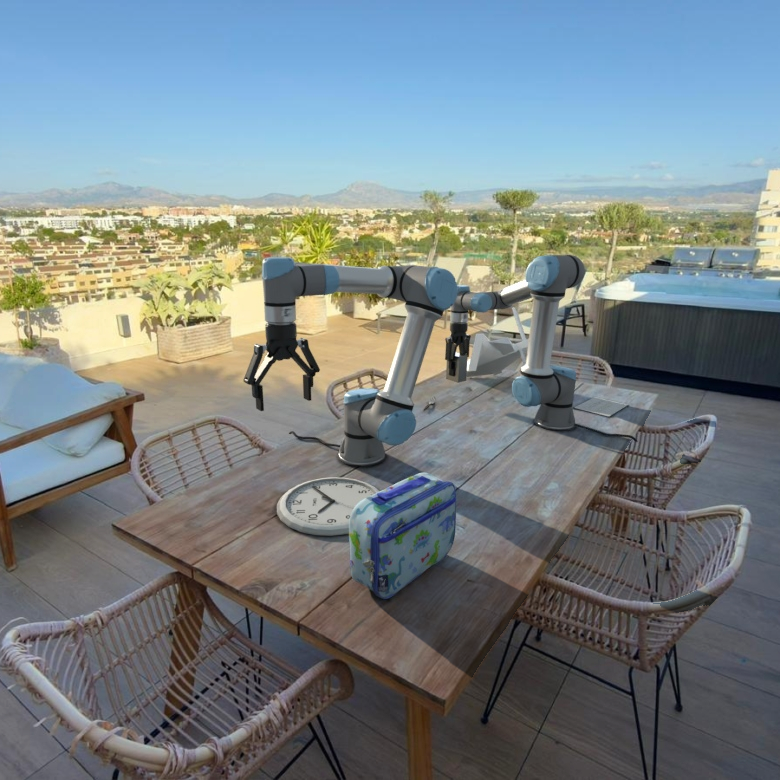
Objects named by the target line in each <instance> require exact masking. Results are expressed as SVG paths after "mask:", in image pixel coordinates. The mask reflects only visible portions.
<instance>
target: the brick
mask: <svg viewBox="0 0 780 780" xmlns="http://www.w3.org/2000/svg"><path fill="white" fill-rule="evenodd" d="M451 359H452V358H451ZM467 360H469V357H468V355H464V354H460V352H456V354H455V358H454V362H455V376H450V375H449V361H447V360H446V367H445V369H446V370H445V380H448V381H451V382H454V383H463V382H466V381H467V377H466V376H467Z"/></svg>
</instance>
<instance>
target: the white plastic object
mask: <svg viewBox="0 0 780 780" xmlns="http://www.w3.org/2000/svg"><path fill="white" fill-rule="evenodd" d="M511 310H512V314H513V317H514V320H515V322H516V326H517V328H518V333H519V335H520V338H521V341H519V342H516V343H513V342H512V341H511V339H510V338H509V337H508V336H507V337H503V338H498V339H493V340H490V339H489V338H488V336H486V334H485V333H475V337H474V342H473V346H472V351H471V356H470V358H468V359H467V376H466V378H470V377H471V378H472V377H481V376H489V375H493V376H497V375H500V374H502V373H503V371H504V370H505V369H507V367H509V366H510V365H512V364H513V363H515V362H516V361H517V360H519V359H520V358H521V361H522V364H523V366H524V365H525V364H526V358H527V350H528V342H529V338H527V337H526V334H525V331H524V327H523V325H522V322H521V318H520V315H519V313H518V311H517V309H516V307H515V306H513V307H511Z"/></svg>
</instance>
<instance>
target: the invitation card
mask: <svg viewBox="0 0 780 780" xmlns="http://www.w3.org/2000/svg"><path fill="white" fill-rule="evenodd" d="M628 406H629V404H627V403H623V402H618V401H614V400H609V399H605V398H601V397H596V396H593V397H592V398H590V399H588V400H586V401H584V402H582V403H580V404H578V405H575V406H574V407H573V409H575V410H581V411H584V412H587V413H593V414H596V415H600V416H604V417H608V418H609V417H611V416H613V415H614V414H616V413H617V412H619V411H621V410H623V409H624V408H626V407H628Z"/></svg>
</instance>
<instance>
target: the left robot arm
mask: <svg viewBox="0 0 780 780" xmlns="http://www.w3.org/2000/svg"><path fill="white" fill-rule="evenodd" d="M261 279H262V290H263V309H264V311H263V312H264V321H265V322H266V323H265V324H264V329H265V331H264V332H265V339H266V340H265V341H266V342H265V344H258V343H255V344H254V345H253V355H252V356H251V359H250V362H249V364H248V367H247V370H246V372H245V375H244V377H243V381H242V382H243V383H245V384H247V385H248V386H251V396H252V398H254V399H255V408H256V410H258V411H260V412H265V405H264V404H265V403H264V388H263V385H262V384H261V383H262V382H263V380H264V378H265V377H266V375H267V373H268V372H269V371H270V369H271V368H272V366H273V364H275V363H276V362H277V361H278V362H279V361H281V362H282V361H284V360H293V362H295V364H297V366H298V367H299V368H300V369H301V370H302V371H303V372H304V374H302V389H303V391H302V393H303V399H304V400H305V401H308V402H310V401H312V388H313V387H314V377H315V376H316V373H320V371H321V369H320V366H319V365H318V363H317V361H316V359H315V356H314V355H313V352H312V351H311V349H310V346H309V340H308V339H306V338H304V337H303V338H302V337H300V338H298V339H297V336H298V333H297V332H298V331H297V323H296V321H297V309H296V308H297V307H296V304H297V303H296V300H297V299H296V298H298V297H299V298H300V297H308V296H309V297H312V296H327V295H333V294H336V293H345V294H347V293H348V294H367V295H370V294H371V295H377V296H378V297H379V298H384V299H391V300H396V301H399V302H404V303H405V304H404V308H405V310H406V312H407V314H406V317H405V320H404V324H403V327H402V330H401V333H400V337H399V340H398V343H397V346H396V349H395V353H394V355H393V359H392V362H391V366H390V369H389V372H388V375H387V379H386V381H385V384H384V387H383V389H382V390H381V391H380V389H377V388H371V387H370V388H368V387H367V388H356V389H351V390H349V391H347V392H346V393H345V394H344V395H343V403H342V405H343V437H342V440H341V444H336V443H330V442H326V441H324V440H323V439H321V438H319V437H316V436H302V435H301V436H300V435H298V434H296V432H295V431H294V430H291V431H289V432H288V435H291V434H292V435H293V436H294V437H295V438H296V439H301V440H315V441H319V442H320V443H321V444H322V445H325V446H329V447H337V448H339V450H338V460H339V461H340V462H342V463H343V464H345V465H348V466H350V467H361V468H362V467H371V466H372V467H373V466H375V465H379V464H380V463H382V462H383V461H384V460H385V459H386V451H385V446H384V444H387V445H389V446H400V445H402V444H404V443H405V442H407V441H408V440H409V439H410V438H411V437H412V436H413V434H414V432H415V430H416V426H417V419H416V416H415V414H414V412H413V410H414V406H415V404H414V403H415V402H414V401H413V399H412V396H413V393H414V390H415V387H416V384H417V380H418V378H419V374H420V371H421V367H422V365H423V362H424V358H425V355H426V352H427V349H428V346H429V342H430V339H431V336H432V333H433V330H434V326H435V324H436V322H438V320H441V319H442V318H443V314H444V312H445V311H447V310H449V309H451V306H453V304H454V303H455V301H456V298H457V293H458V287H457V285H458V282H457V280H456V278H455V276H454V274H453V273H452V272H451V271H450V270H449V269H447V268H443V267H438V266H424V265H417V264H416V265H415V264H405V265H381V266H379V267H378V268H375V267H363V266H362V267H361V266H349V265H336V264H324V263H312V262H300V261H299V262H298V261H295V260H294V258H293V257H286V256H281V257H280V256H279V257H278V256H270V257H265V258H264V259H263V260H262V266H261ZM298 348H300V351H301V352H302V354H303V356H304V358H305V360H306V362H307V363H306V362H305V361H304V359H302V358H301V356H300V354H299V353H298V352H297V351H296V350H297V349H298ZM266 352H267V353H266ZM265 353H266V355H265V356H264V354H265ZM263 356H264V359H263ZM262 359H263V361H262ZM261 362H262V363H261Z"/></svg>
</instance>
